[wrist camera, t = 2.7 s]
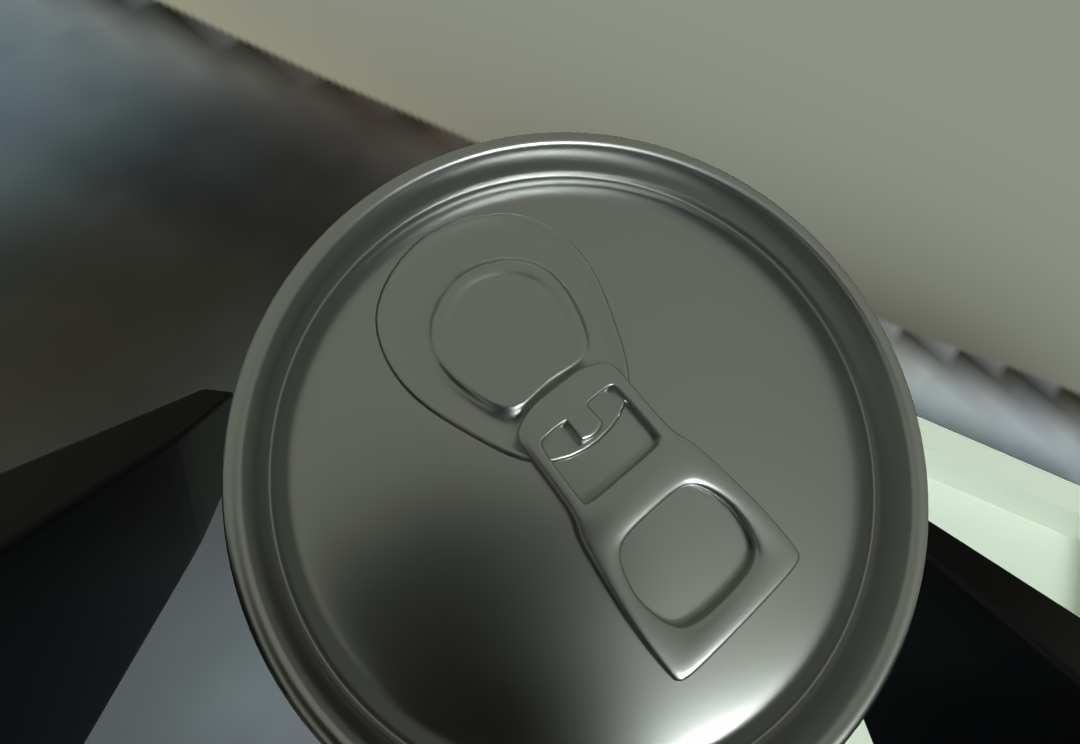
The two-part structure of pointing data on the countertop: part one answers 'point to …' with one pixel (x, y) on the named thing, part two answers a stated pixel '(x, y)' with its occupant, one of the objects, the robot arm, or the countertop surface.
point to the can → (574, 462)
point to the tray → (1003, 516)
